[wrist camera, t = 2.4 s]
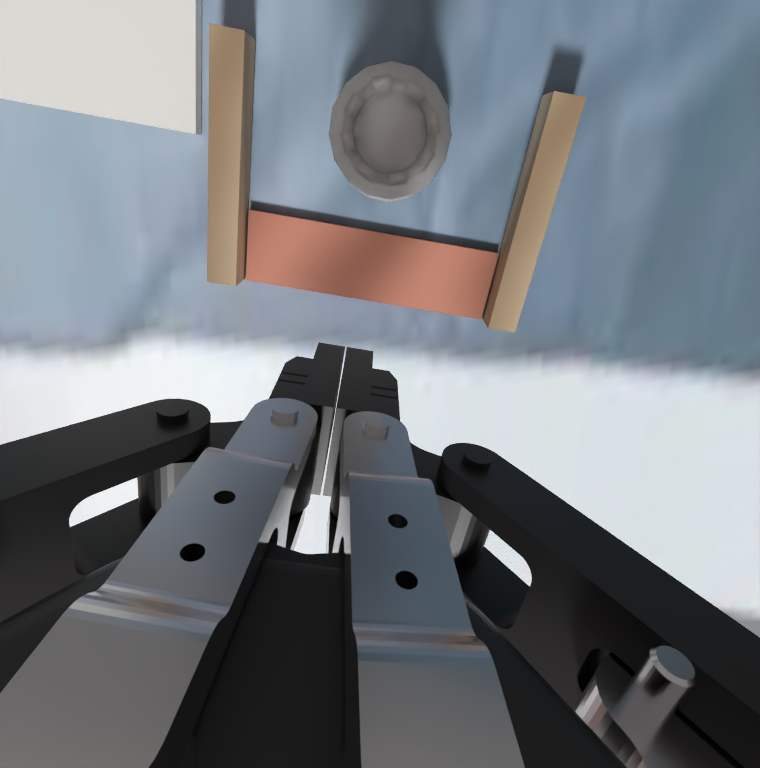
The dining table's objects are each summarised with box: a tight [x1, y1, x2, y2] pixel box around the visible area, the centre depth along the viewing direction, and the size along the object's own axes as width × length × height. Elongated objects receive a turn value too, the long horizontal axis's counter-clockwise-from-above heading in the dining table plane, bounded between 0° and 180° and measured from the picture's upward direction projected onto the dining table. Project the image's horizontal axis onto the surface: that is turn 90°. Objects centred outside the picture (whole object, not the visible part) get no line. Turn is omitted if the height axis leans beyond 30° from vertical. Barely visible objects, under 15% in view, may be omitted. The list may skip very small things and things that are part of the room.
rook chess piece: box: [329, 61, 451, 202], centre depth 15 cm, size 4×4×8 cm
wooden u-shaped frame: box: [207, 23, 587, 333], centre depth 19 cm, size 13×9×2 cm
